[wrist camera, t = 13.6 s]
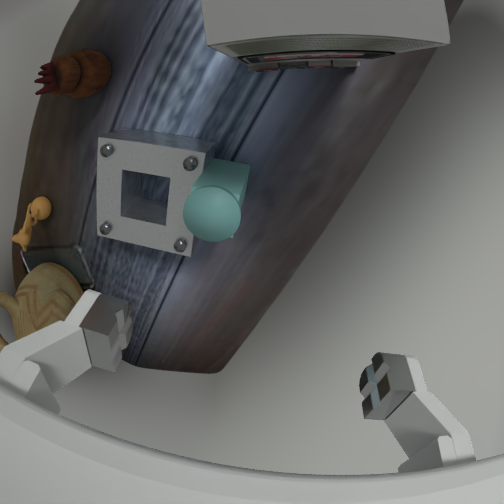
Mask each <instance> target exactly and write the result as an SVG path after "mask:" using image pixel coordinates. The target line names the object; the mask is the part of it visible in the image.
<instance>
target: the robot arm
mask: <svg viewBox="0 0 504 504" xmlns="http://www.w3.org/2000/svg"><path fill="white" fill-rule="evenodd" d="M131 311H132V308H131V303H130V302H129V301H125V300H122V299H119V298H116V297H113V296H109V295H106V294H103V293H99V292H96V291H93V290H90V289H89V290H87V291H85V292H84V294H83V295H82V297H81V298H80V299H79V301H78V302H77V304H76V305H75V306H74V308H73V309H72V311H71V312H70V314H69V315H68V316H67V318H66V319H65V321H61V320H60V321H58V322H56V323H53V324H51V325H49V326H47V327H45V328H43V329H41V330H38V331H36V332H34V333H32V334H30V335H28V336H26V337H24V338H21V339H19V340H17V341H15V342H13V343H11V344H9V345H7V346H5V347H4V348H3V349H2V351H1V352H0V504H504V454H502V455H498V456H494V457H490V458H486V459H482V460H477V461H476V458H475V454H474V450H473V447H472V443H471V439H470V436H469V432H468V431H467V430H466V429H465V428H464V427H463V426H462V425H461V424H460V423H459V422H458V420H457V419H456V418H455V417H454V416H453V415H452V414H451V413H450V412H449V411H448V410H447V409H446V408H445V407H444V405H443V404H442V403H441V402H440V401H439V400H438V399H437V398H436V397H435V396H434V395H433V394H432V393H430V392H428V391H427V387H426V384H425V381H424V378H423V374H422V371H421V368H420V365H419V362H418V359H417V358H416V357H415V356H409V355H400V354H390V353H381V352H378V353H376V354H375V355H374V356H373V358H372V364H371V365H369V366H367V367H366V368H365V369H364V371H363V372H362V374H361V378H360V384H359V387H360V393H361V394H362V395H363V396H364V398H365V399H364V400H363V402H362V407H363V414H364V419H374V420H385V423H386V424H387V426H388V427H389V429H390V430H391V432H392V433H393V435H394V436H395V438H396V439H397V441H398V442H399V444H400V445H401V447H402V448H403V450H404V451H405V453H406V454H407V456H408V457H409V460H407V461H406V462H404V463H403V464H401V465H400V467H399V468H398V471H399V473H388V474H370V475H314V474H313V475H312V474H296V473H283V472H273V471H264V470H255V469H248V468H241V467H235V466H228V465H222V464H217V463H212V462H207V461H202V460H197V459H192V458H188V457H184V456H179V455H175V454H171V453H167V452H163V451H160V450H156V449H153V448H149V447H146V446H142V445H139V444H136V443H133V442H130V441H127V440H123V439H121V438H118V437H115V436H112V435H109V434H106V433H103V432H101V431H98V430H95V429H93V428H90V427H88V426H85V425H83V424H80V423H78V422H75V421H73V420H71V419H68V418H66V417H64V416H62V415H59V412H60V410H61V409H60V407H59V404H58V403H57V401H56V399H55V397H54V395H53V394H54V393H55V392H56V391H58V390H59V389H61V388H62V387H63V386H65V385H66V384H68V383H69V382H71V381H72V380H74V379H75V378H76V377H78V376H79V375H81V374H82V373H84V372H85V371H86V370H88V369H89V368H91V367H92V366H96V367H98V368H101V369H105V370H108V371H111V372H116V369H117V367H118V365H119V363H120V361H121V359H122V353H121V350H123V349H125V348H126V347H127V346H128V344H129V341H130V338H131V334H132V328H133V323H132V319H131V318H130V317H129V315H130V313H131ZM91 365H92V366H91Z"/></svg>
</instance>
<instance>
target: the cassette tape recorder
mask: <svg viewBox="0 0 504 504" xmlns="http://www.w3.org/2000/svg"><path fill="white" fill-rule="evenodd" d="M201 7H202V14H203V22H204V29H205V36H206V44H207V46H209V47H211V48H213V49H215V50H217V51H219V52H221V53H223V54H225V55H227V56H229V57H231V58H233V59H235V60H237V61H239V62H241V63H243V64H245V65H246V66H248V72H252V71H256V72H265V71H276V70H278V69H281V70H285V69H301V68H306V67H307V68H322V67H330V68H352V67H356V66H360V61H363V60H367V59H374V58H379V57H384V56H389V55H394V54H395V53H400V52H407V51H412V50H418V49H425V48H431V47H438V46H446V45H450V37H449V28H448V21H447V15H446V9H445V3H444V0H201Z"/></svg>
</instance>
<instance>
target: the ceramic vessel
mask: <svg viewBox="0 0 504 504" xmlns="http://www.w3.org/2000/svg"><path fill="white" fill-rule="evenodd" d="M83 294H84V292H83V290H82V288H81V286H80V284H79V283H78V281H77V280H76V279H75V277H74V276H73V275H72V274H71V273H70V272H69V271H68V270H67V269H66V268H64V267H63V266H61V265H59V264H56V263H50V262H49V263H43V264H40V265H38V266H37V267H35V268H34V269H33V270H31V271H30V272H29V273H28V274H27V276H26V277H25V278H24V279H23V281H22V283H21V284H20V286H19V288H18V290H17V292H16V295H15V297H13V296H12V295H10V294H9V293H6V292H3V291H0V306H1V307H3V308H5V309H6V310H8V311H9V312H10V313H11V315H12V321H13V326H14V329H15V334H16V340H19V339H21V338H24V337H26V336H28V335H30V334H32V333H34V332H36V331H38V330H41V329H43V328H45V327H47V326H49V325H51V324H53V323H56V322H58V321H60V320H61V321H65V319H66V318H67V316H68V315H69V314H70V312H71V311H72V309H73V308H74V306H75V305H76V304H77V302H78V301H79V299H80V298H81V297H82V295H83ZM7 345H9V344H8V342H6V341H5V340H4V339H3V337H2V336H1V334H0V352H1V351H2V349H3V348H4V347H5V346H7Z"/></svg>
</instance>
